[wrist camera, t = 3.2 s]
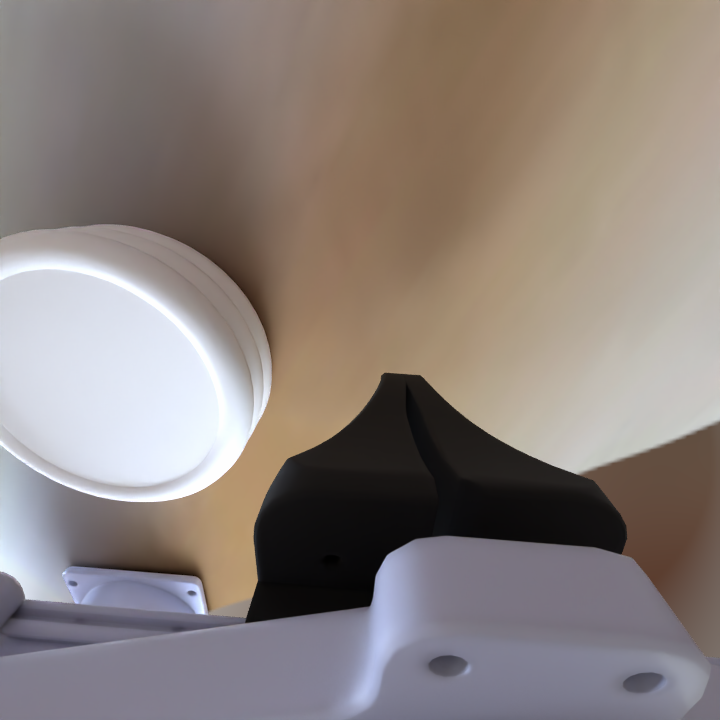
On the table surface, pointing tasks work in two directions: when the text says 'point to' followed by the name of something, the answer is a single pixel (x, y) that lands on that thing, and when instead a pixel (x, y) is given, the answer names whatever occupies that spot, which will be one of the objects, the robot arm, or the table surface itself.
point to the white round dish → (126, 362)
